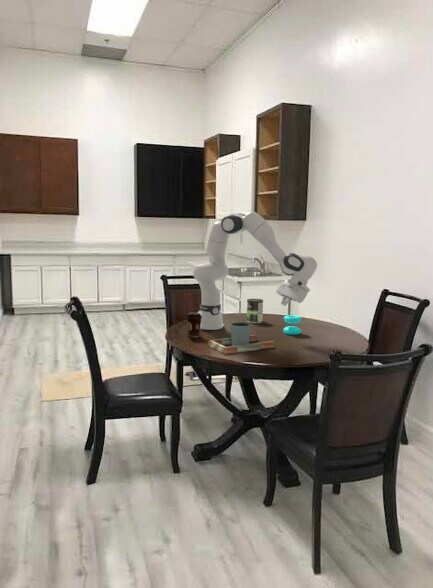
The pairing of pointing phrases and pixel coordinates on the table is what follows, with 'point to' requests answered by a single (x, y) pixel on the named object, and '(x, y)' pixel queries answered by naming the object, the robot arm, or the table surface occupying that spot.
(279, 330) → the table surface
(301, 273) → the robot arm
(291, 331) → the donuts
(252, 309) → the coffee can
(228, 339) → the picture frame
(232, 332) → the grey-blue cylinder
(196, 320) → the coffee cup
